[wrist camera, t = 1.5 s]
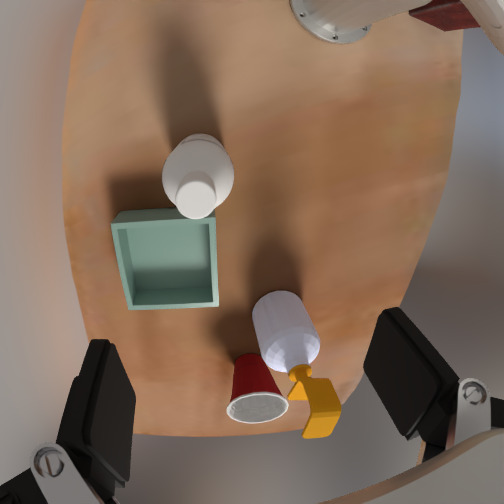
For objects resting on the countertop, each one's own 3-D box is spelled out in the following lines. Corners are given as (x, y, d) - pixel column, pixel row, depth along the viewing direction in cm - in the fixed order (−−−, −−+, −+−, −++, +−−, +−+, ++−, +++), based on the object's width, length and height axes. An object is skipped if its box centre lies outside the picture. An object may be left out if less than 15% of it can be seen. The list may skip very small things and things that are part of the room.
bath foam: (199, 193, 40) (197, 263, 22) (163, 159, 37) (127, 203, 19) (236, 158, 38) (265, 200, 21) (200, 122, 35) (196, 129, 18)
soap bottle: (245, 326, 51) (273, 450, 30) (261, 285, 48) (304, 413, 26) (290, 332, 54) (334, 445, 32) (309, 293, 50) (370, 407, 29)
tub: (120, 211, 39) (110, 223, 34) (214, 205, 41) (215, 217, 36) (134, 291, 45) (128, 310, 40) (217, 287, 47) (219, 306, 42)
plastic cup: (209, 360, 54) (214, 410, 43) (258, 335, 53) (271, 385, 42) (239, 385, 59) (247, 431, 48) (283, 364, 58) (298, 410, 47)
